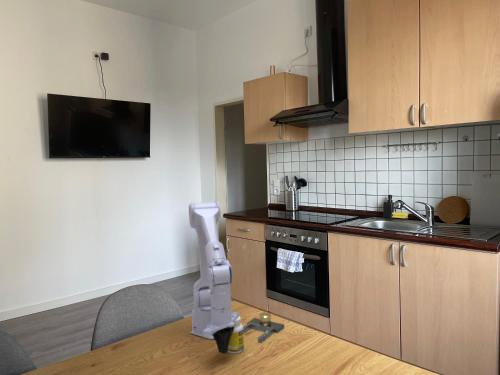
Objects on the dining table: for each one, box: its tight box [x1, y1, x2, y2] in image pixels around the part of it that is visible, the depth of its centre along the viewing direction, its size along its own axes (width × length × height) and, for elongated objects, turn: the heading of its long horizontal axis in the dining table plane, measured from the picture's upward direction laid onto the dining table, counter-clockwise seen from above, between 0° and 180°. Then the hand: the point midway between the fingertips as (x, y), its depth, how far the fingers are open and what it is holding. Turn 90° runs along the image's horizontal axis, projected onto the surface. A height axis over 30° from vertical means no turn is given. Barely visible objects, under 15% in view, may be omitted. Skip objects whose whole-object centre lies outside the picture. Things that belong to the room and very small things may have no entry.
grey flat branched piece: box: [243, 312, 285, 344], centre depth 123 cm, size 12×14×4 cm
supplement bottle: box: [226, 316, 245, 354], centre depth 111 cm, size 5×5×10 cm
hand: (223, 352), depth 106 cm, fingers closed
